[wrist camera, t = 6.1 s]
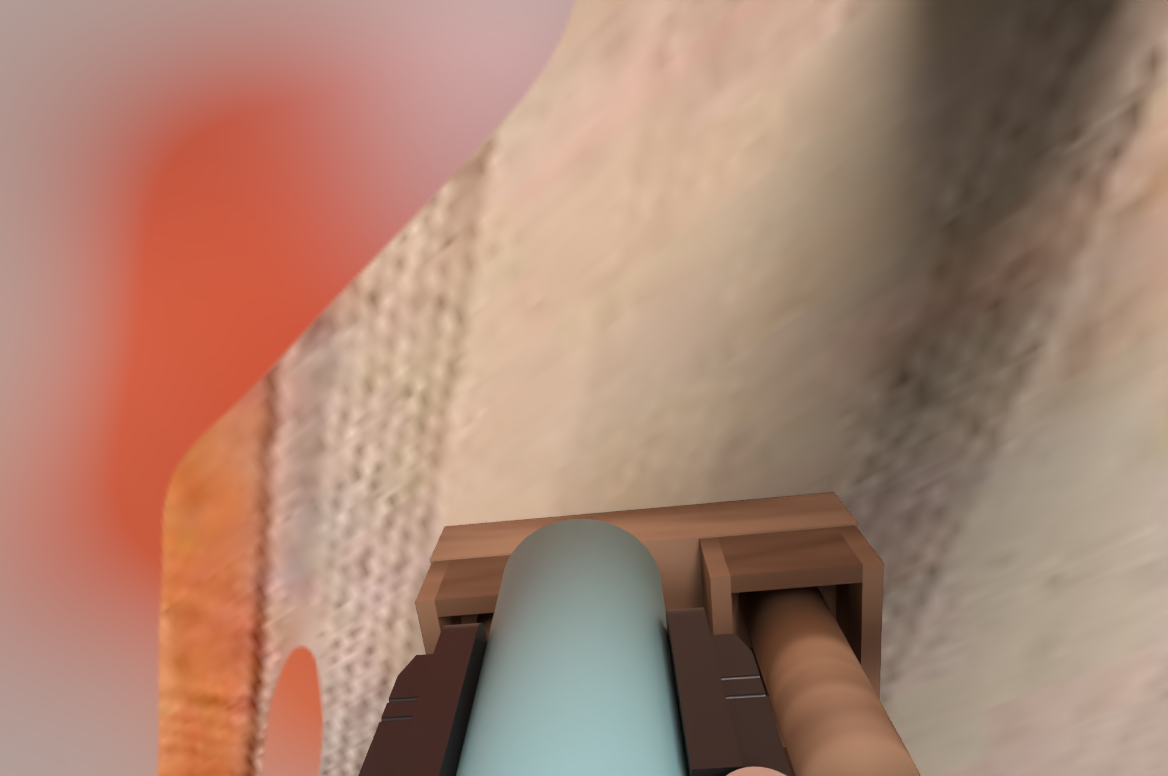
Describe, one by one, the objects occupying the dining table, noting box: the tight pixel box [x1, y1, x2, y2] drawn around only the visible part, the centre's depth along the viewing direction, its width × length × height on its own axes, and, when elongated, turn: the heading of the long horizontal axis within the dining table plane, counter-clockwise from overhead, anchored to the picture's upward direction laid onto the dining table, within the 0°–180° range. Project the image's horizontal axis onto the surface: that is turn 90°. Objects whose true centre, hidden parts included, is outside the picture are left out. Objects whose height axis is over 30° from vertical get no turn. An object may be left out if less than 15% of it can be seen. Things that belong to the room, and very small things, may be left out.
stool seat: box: [415, 492, 920, 776], centre depth 29 cm, size 19×19×13 cm
